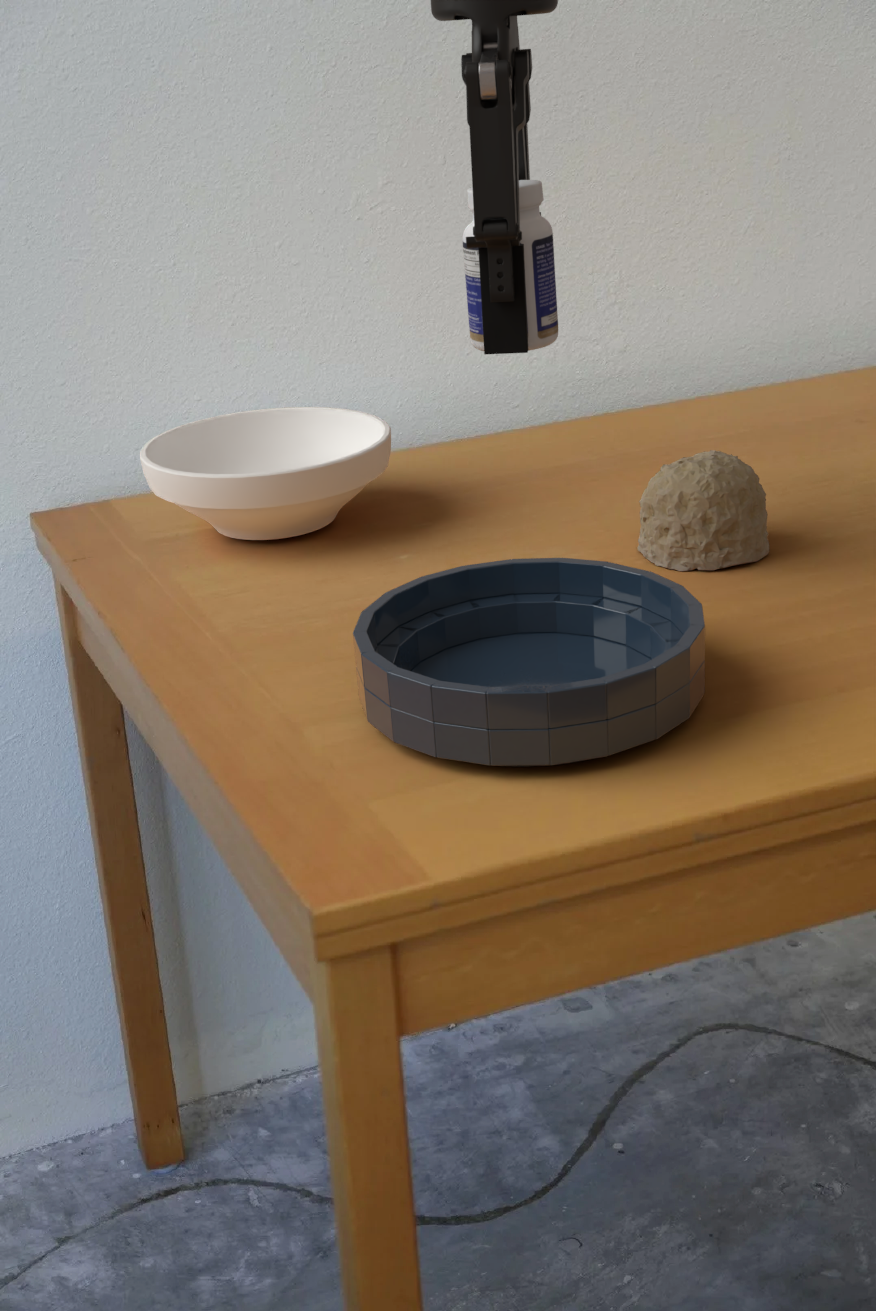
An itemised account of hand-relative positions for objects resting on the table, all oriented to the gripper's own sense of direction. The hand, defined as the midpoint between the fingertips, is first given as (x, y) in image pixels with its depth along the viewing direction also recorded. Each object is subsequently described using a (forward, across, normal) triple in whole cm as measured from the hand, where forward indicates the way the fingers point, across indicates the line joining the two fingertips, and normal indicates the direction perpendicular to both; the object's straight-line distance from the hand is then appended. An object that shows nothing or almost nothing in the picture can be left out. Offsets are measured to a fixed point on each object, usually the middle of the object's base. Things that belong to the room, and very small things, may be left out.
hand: (510, 340), depth 95 cm
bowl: (+17, -14, -21) cm, 30 cm away
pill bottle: (0, 0, 0) cm, 0 cm away
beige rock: (+17, -6, +12) cm, 22 cm away
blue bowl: (+17, +18, +2) cm, 25 cm away
